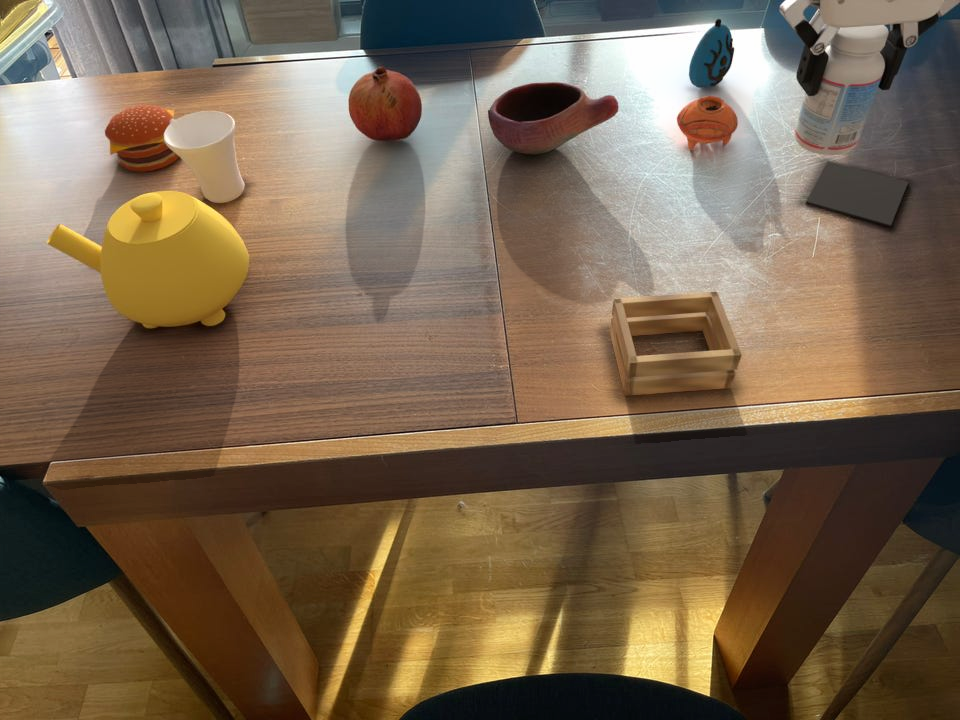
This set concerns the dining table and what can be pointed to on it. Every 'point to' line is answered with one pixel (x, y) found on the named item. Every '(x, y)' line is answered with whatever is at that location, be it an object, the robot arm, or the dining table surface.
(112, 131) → the hamburger
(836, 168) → the plate
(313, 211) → the dining table surface
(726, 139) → the pot
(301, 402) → the dining table surface
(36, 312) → the dining table surface
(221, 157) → the cup
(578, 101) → the bowl
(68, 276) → the dining table surface
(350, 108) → the fruit
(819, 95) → the pill bottle
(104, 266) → the teapot
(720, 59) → the ornament
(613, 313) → the crate
